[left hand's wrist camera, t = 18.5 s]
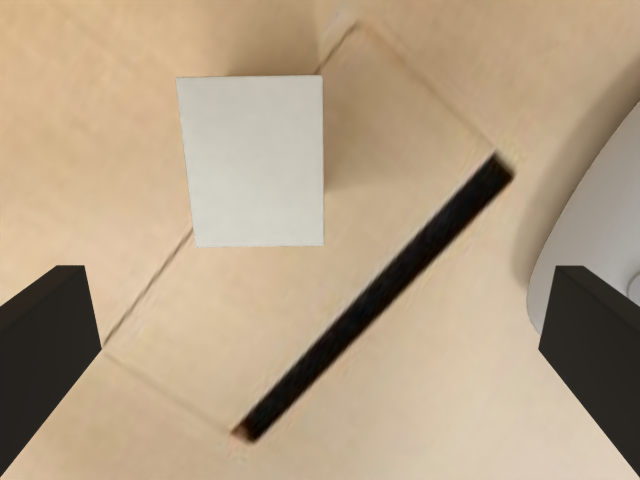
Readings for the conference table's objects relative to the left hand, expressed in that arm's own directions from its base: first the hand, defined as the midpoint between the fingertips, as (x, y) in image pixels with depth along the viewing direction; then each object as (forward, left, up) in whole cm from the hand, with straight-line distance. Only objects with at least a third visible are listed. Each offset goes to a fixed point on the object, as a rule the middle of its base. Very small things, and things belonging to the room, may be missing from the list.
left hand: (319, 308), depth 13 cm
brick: (+3, +2, -20) cm, 20 cm away
